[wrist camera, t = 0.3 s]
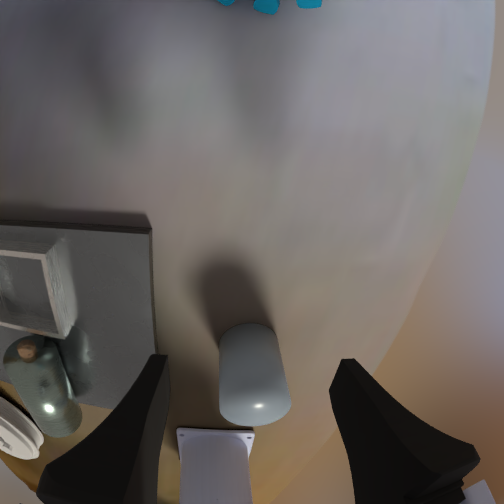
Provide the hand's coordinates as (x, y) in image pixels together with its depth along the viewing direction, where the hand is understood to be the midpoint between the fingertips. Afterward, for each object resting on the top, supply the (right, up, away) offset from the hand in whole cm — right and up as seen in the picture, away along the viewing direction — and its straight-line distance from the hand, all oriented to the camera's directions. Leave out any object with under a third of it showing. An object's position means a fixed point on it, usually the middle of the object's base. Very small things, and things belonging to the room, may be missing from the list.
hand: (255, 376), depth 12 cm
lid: (-33, -17, +16) cm, 40 cm away
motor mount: (-17, -1, +9) cm, 19 cm away
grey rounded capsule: (0, -2, +11) cm, 11 cm away
